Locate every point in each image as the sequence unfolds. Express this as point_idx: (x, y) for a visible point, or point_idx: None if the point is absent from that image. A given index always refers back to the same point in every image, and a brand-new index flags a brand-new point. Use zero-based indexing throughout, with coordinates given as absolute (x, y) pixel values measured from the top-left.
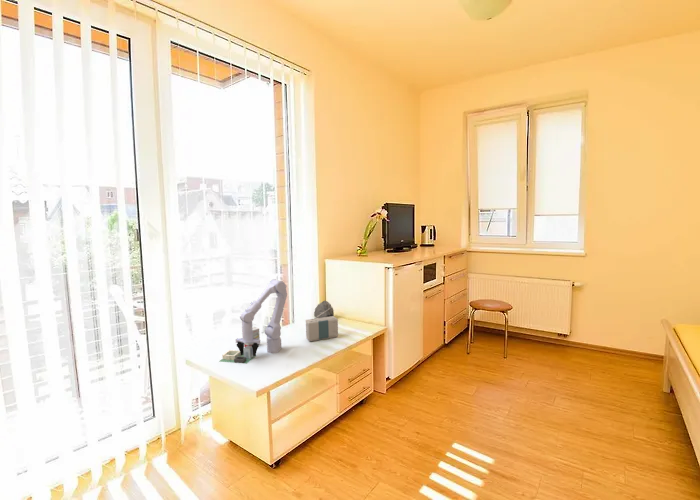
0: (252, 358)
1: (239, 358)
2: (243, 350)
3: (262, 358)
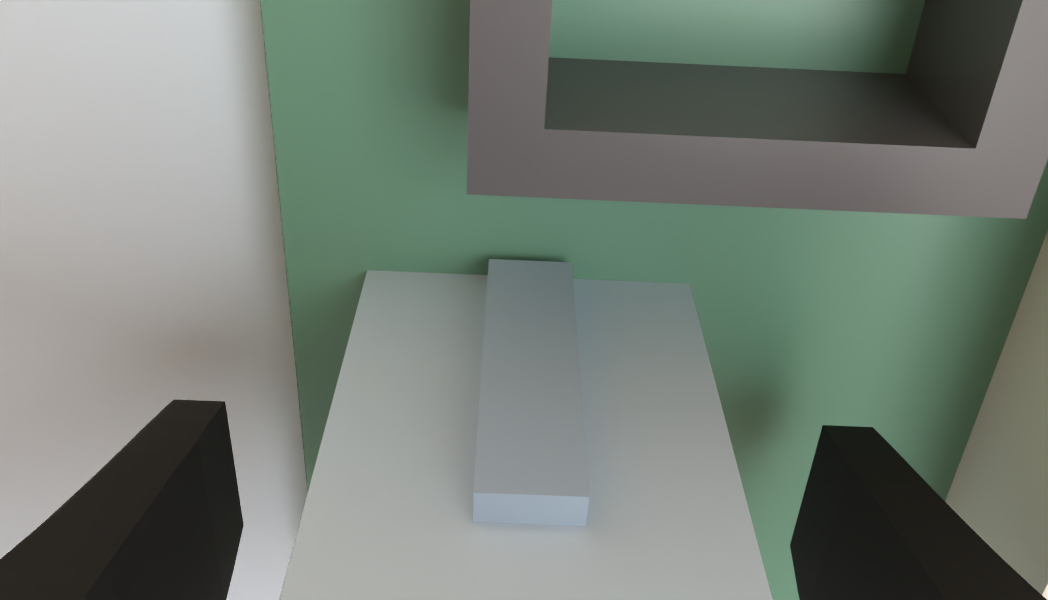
0: (303, 337)
1: (857, 111)
2: (767, 590)
3: (39, 463)
